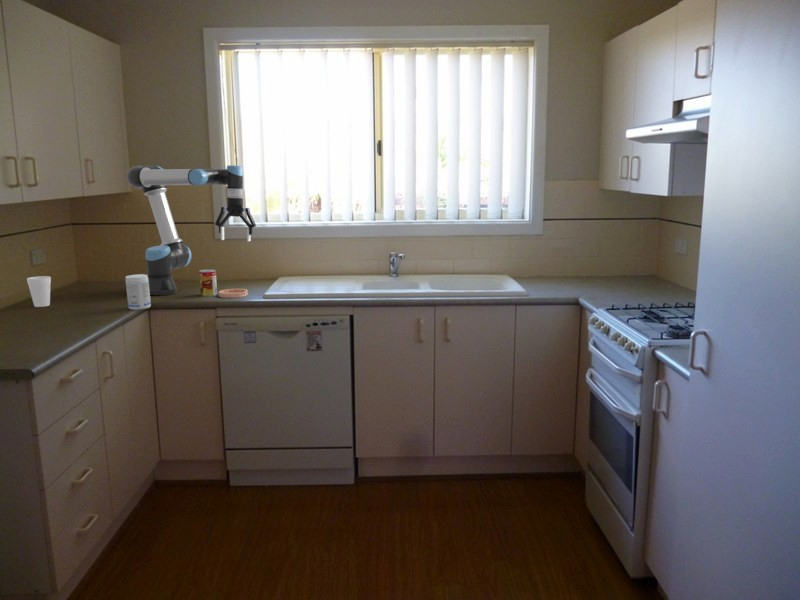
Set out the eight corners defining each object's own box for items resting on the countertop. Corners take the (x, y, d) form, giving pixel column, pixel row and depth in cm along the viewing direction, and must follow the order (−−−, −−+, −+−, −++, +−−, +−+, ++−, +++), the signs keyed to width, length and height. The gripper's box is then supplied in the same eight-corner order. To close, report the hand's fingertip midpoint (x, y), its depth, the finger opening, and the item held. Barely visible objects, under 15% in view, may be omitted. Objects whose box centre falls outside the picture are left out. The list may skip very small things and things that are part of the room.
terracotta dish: (213, 297, 317) (213, 293, 317) (226, 292, 330) (226, 288, 330) (240, 298, 314) (240, 294, 314) (252, 292, 328) (252, 288, 327)
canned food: (202, 293, 328) (200, 269, 326) (218, 292, 329) (217, 269, 327) (199, 296, 321) (197, 272, 318) (215, 295, 321) (214, 271, 319)
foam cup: (28, 305, 303) (25, 277, 300) (50, 302, 309) (47, 275, 306) (33, 308, 296) (29, 280, 293) (55, 305, 301) (52, 277, 299)
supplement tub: (147, 305, 301) (144, 273, 298) (154, 308, 293) (151, 275, 291) (125, 307, 295) (122, 275, 292) (132, 311, 287) (128, 278, 285)
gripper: (207, 196, 319) (208, 240, 323) (257, 198, 316) (257, 242, 320) (213, 196, 326) (214, 238, 330) (262, 198, 323) (262, 241, 327)
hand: (235, 240), depth 325 cm, fingers open, 13 cm apart
